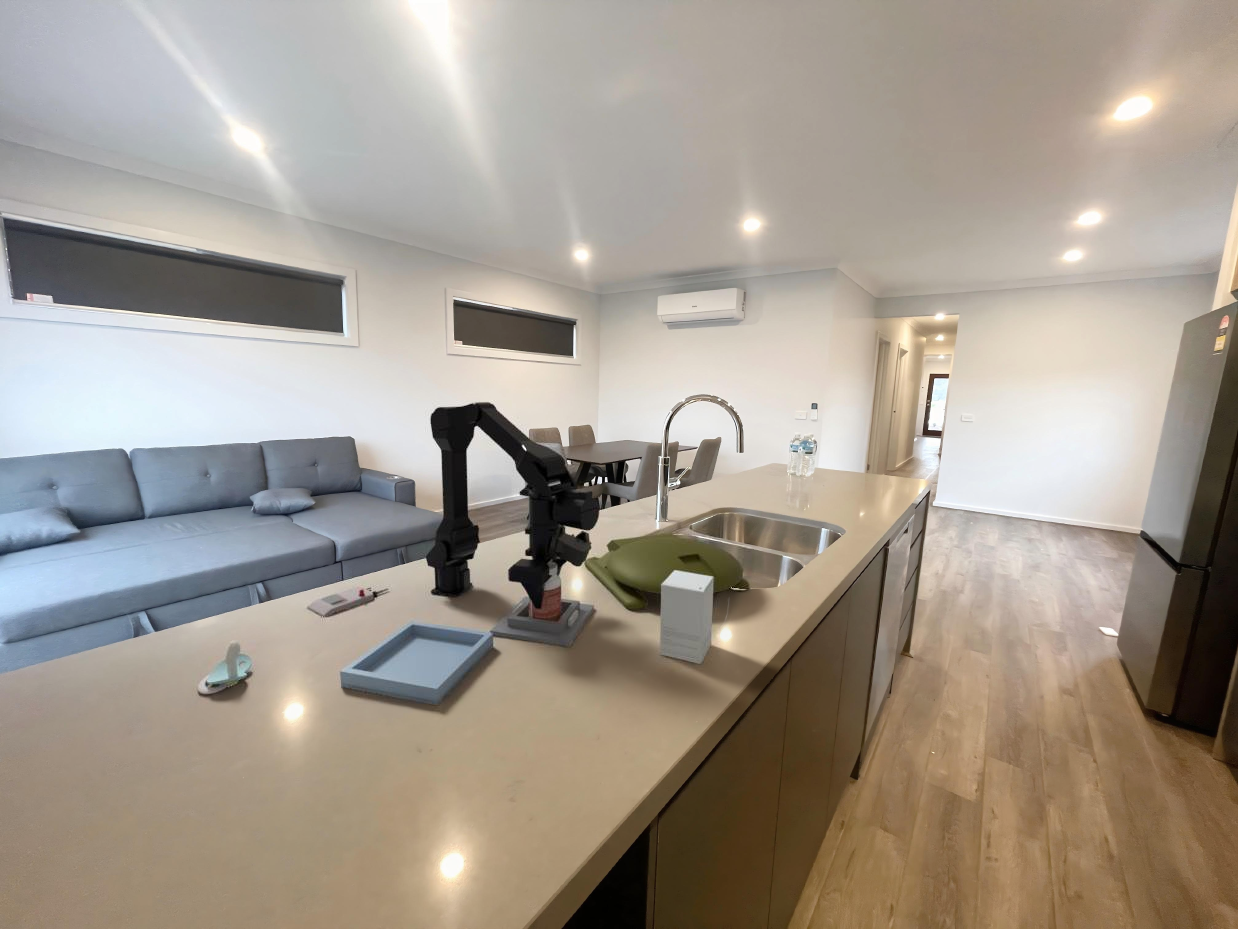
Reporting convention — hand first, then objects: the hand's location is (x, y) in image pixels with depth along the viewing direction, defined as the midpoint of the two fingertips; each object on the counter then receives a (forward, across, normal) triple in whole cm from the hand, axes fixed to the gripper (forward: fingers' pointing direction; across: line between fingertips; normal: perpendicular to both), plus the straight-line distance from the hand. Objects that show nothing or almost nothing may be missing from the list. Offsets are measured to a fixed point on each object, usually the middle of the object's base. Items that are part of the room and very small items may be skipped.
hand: (545, 601), depth 91 cm
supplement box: (+4, -3, -27) cm, 28 cm away
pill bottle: (+4, 0, 0) cm, 4 cm away
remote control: (+5, -3, +42) cm, 43 cm away
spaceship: (+5, +26, -20) cm, 33 cm away
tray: (+4, -19, +13) cm, 23 cm away
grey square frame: (+4, 0, 0) cm, 4 cm away
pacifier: (+4, -30, +38) cm, 49 cm away
